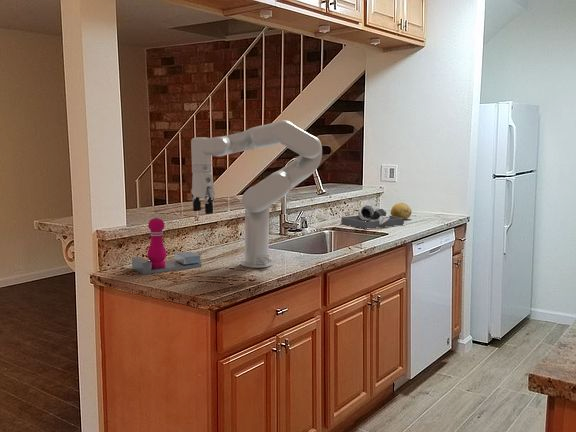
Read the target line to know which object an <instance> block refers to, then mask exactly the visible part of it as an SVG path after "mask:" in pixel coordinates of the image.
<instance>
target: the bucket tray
mask: <svg viewBox="0 0 576 432" xmlns="http://www.w3.org/2000/svg"><path fill="white" fill-rule="evenodd" d="M389 216H390V218H389V220H387V221H386V222H384V223H382V224H381V225H379V223H380V221H371V220H370V219H369V220H367V221H369V222H365V221H362V220H361V219H360V217H359V216H358V215H351V216H342V217H341V219H340V220H341V223H340V224H341V225H343V224H345V225H344V226H348V225H351V226H350V227H352V226H356V227H355V228H357V227H361V228H360V229H362V228H366V229H367V228H375V229H377V228H376V227H383V228H386V227H385V226H392V227H395V226H394V225H400V226H404V225H403V224H404V223H405V219H404V218H400V217H395V216H391V215H389ZM366 229H365V230H366ZM367 230H368V229H367Z"/></svg>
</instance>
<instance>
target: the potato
mask: <svg viewBox="0 0 576 432" xmlns="http://www.w3.org/2000/svg"><path fill="white" fill-rule="evenodd" d="M412 212H413V211H412V209H411V207H410V206H409V205H408V204H406V203H401V202H399V203H396V204H395V205H393V206H392V207H391V209H390V216H395V217H400V218H404V220H407V219H409V218H410V217H411V216H412Z"/></svg>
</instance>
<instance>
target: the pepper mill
mask: <svg viewBox="0 0 576 432" xmlns="http://www.w3.org/2000/svg"><path fill="white" fill-rule="evenodd" d="M147 227H148V229H149V230H150V231H149V236H150V244H149V247H148V249H147V253H146V254H147V259H148V261H150V262H151V267H152V268H161V267H164V266H165V261H166V260H165V259H166V258H167V250H166V247H165V245H164V243H163V235H164V231H163V230H164V229H165V222H164V220H163V219H162V218H159V214H157V213H156V214H154V215H153V218H152V219H150V220H149V221H148V225H147Z"/></svg>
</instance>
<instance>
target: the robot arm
mask: <svg viewBox="0 0 576 432" xmlns="http://www.w3.org/2000/svg"><path fill="white" fill-rule="evenodd" d="M276 145H281V146H282V145H283V146H284V147H286V148H288V149H289V150H291V151H292V152H294V153H296V154H297V155H298V157H297V158H295V159H294V160H293V161H291V162H290V163H288V164H287V165H286V166H283V167H282V168H281V169H279V170H277V171H275V172H272V173H271V174H270V175H268V176H266V177H265V178H264V179H261V181H259V182H257V183H256V184H254V185H252V186H250V187H248V189H246V190H245V192H244V193H243V195H242V197H241V204H242V207H243V208H244V259H242V260H241V261H240V265H241V266H242V267H244V268H245V267H246V268H251V269H260V268H261V269H262V268H269V267H271V266H272V265H273V260H272V259H270V254H269V246H270V245H269V242H270V241H269V240H270V239H269V237H270V233H269V232H270V230H269V229H270V206H271V205H273V204H275V203H276V202H278V201H279V200H280V199H282V198H284V197H285V196H286V195H287V194H289V192H290V191H291V190H292V189H293V188H294V187H296V186H298V185H299V184H300V183H302V182H303V181H305V180H307V178H309V177H310V176H311V175H313V174H314V173H315V172H316V171H317V169H318V167H319V166H320V164H321V162H322V157H323V146H322V142H321V140H320V139H319V138H318V137H317V136H314V135H312V134H310V133H308V132H307V131H304V130H303V129H301V128H300V127H298V126H296V125H295V124H293V122H291V121H290V120H285V119H284V120H283V119H282V120H279V121H275V122H271V123H268V124H263V125H257V126H253V127H250V128H247V129H246V130H243V131H239V132H236V133H231V134H228V135H223V136H222V135H221V136H214V137H205V136H204V137H199V136H198V137H193V138H192V139H191V141H190V147H191V172H192V177H191V178H192V179H191V180H192V181H191V189H190V193H191V197H192V198H191V199H192V211H193V212H200V211H202V206H201V205H202V203H201V202H202V201H201V199H204V202H205V203H204V213H205V214H206V215H209V214H211V215H212V214H214V200H215V194H216V193H215V187H214V185H215V184H214V177H213V173H212V156H213V157H224V156H227V155H231V154H236V153H240V152H244V151H255V150H260V149H263V148H268V147H273V146H276Z"/></svg>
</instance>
